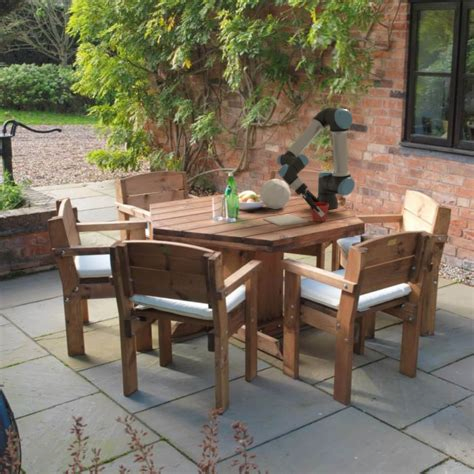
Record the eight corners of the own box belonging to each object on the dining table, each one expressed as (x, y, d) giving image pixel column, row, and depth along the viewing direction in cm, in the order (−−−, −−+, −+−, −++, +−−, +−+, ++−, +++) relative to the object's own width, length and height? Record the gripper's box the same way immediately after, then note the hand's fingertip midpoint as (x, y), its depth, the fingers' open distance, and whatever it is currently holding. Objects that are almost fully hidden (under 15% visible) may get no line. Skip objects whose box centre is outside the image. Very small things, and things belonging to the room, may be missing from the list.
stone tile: (291, 215, 448) (291, 214, 448) (308, 222, 433) (308, 220, 433) (263, 219, 438) (263, 218, 438) (279, 225, 423) (279, 224, 423)
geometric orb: (278, 216, 475) (294, 191, 477) (281, 212, 455) (297, 185, 457) (253, 201, 475) (269, 176, 477) (255, 196, 455) (272, 170, 458)
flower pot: (327, 222, 430) (328, 206, 428) (309, 221, 433) (309, 205, 430) (328, 218, 440) (329, 202, 438) (310, 217, 443) (311, 201, 440)
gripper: (297, 187, 446) (321, 213, 447) (291, 194, 425) (317, 222, 425) (306, 178, 444) (330, 205, 444) (300, 185, 422) (326, 213, 423)
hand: (324, 213), depth 435 cm, fingers closed on flower pot, 11 cm apart
